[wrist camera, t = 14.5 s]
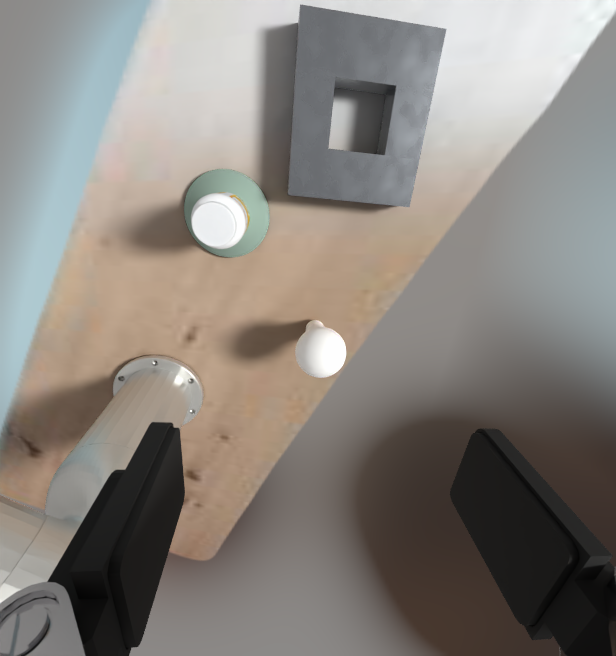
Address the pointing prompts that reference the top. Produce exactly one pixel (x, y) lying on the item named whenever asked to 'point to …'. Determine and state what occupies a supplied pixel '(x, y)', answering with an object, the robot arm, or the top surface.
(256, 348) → the top surface
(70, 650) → the robot arm
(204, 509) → the top surface
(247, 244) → the pad
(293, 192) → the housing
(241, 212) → the supplement bottle
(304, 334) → the lightbulb
